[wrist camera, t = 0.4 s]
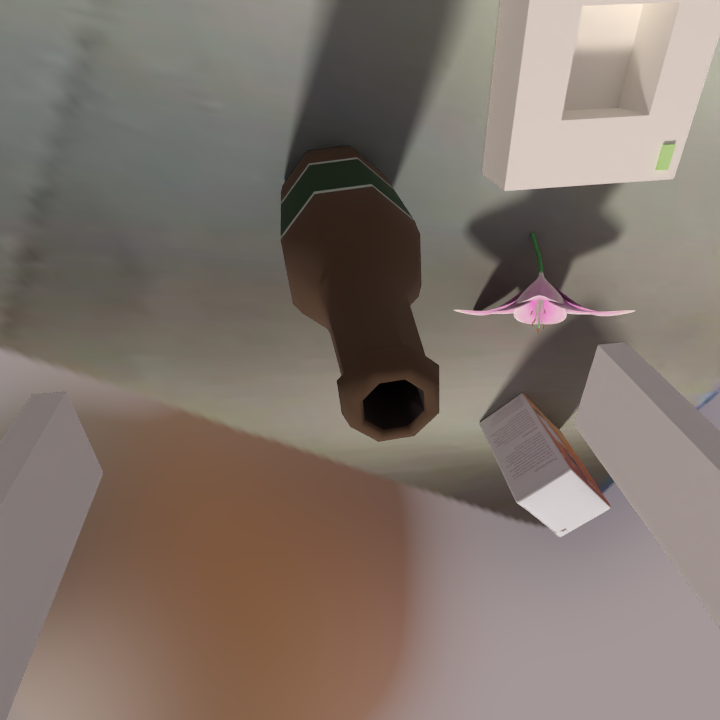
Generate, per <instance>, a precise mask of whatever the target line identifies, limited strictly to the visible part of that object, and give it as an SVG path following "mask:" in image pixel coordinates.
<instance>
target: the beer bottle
mask: <svg viewBox="0 0 720 720" xmlns="http://www.w3.org/2000/svg"><path fill="white" fill-rule="evenodd" d="M281 244H282V249H283V254H284V260H285V265H286V270H287V275H288V280H289V285H290V291H291V296H292V301H293V304H294V305H295V306H296V307H297V308H298V309H299V310H300V311H301V312H302V313H303V314H305V315H306V316H308V317H309V318H311V319H313V320H314V321H316V322H317V323H319V324H321V325H322V326H324V327H325V328H327V329H328V330H329V332H330V335H331V338H332V342H333V346H334V349H335V353H336V357H337V361H338V364H339V368H340V372H341V375H342V376H341V377H340V378H339V379H338V380H337V385H338V392H339V398H340V405H341V411H342V414H343V416H344V417H345V419H346V421H347V422H348V424H349V425H350V427H352V428H354V429H356V430H358V431H360V432H361V433H363V434H365V435H367V436H369V437H371V438H373V439H375V440H376V441H378V442H379V441H385V440H392V439H398V438H404V437H410V436H415V435H416V434H417V433H418V432H419V431H420V430H421V429H422V428H423V427H424V426H425V425H426V424H428V423H429V422H430V421H431V420H432V419H433V418H434V417H435V416H436V415H437V414H438V413H439V365H438V364H436V363H435V362H434V361H432V360H431V359H429V358H428V357H426V356H425V353H424V350H423V346H422V343H421V340H420V337H419V334H418V330H417V327H416V324H415V321H414V317H413V314H412V311H411V308H410V305H411V304H412V303H413V302H414V301H415V300H416V299H417V298H418V296H419V292H420V289H421V253H420V233H419V231H418V228H417V226H416V223H415V221H414V219H413V218H412V216H411V215H410V213H409V212H408V210H407V209H406V207H405V206H404V204H403V203H402V201H401V200H400V198H399V197H398V195H397V193H396V192H395V190H394V189H393V187H392V186H391V184H390V183H389V181H388V180H387V178H386V177H385V176H384V175H383V174H382V173H381V172H380V171H379V170H377V169H376V168H375V167H374V166H373V165H372V164H370V163H369V162H368V161H367V160H366V159H365V158H363V157H362V156H361V155H360V154H359V153H358V152H356V151H355V150H354V149H353V148H352V147H351V146H341V147H333V148H325V149H318V150H310V151H307V152H306V153H305V155H304V156H303V157H302V159H301V160H300V162H299V163H298V165H297V166H296V167H295V169H294V170H293V172H292V173H291V174H290V176H289V177H288V179H287V180H286V181H285V183H284V184H283V186H282V191H281Z"/></svg>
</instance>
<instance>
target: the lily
mask: <svg viewBox="0 0 720 720" xmlns="http://www.w3.org/2000/svg"><path fill="white" fill-rule="evenodd" d="M530 235H531V238H532V241H533V244H534V247H535V251H536V255H537V259H538V265H539V277H538V278H537V279H536V280H535V281H534V282H533V283H532V284H530V285H529V286H528V287H527V288H525V289H524V290H523V291H522V292H520V293H519V294H518V295H516V296H515V297H514V298H512V299H511V300H509V301H508V302H506V303H505V304H503V305H501V306H500V307H498V308H495V309H492V310H487V311H472V310H454V311H457V312H461V313H465V314H471V315H488V314H511V313H514V317H515V318H516V319H517V320H518V321H520V322H522V323H527V324H532V326H533V324H538V327H537V331H538V332H539V327H540V324H542V326H543V329H544V324H555V323H560V322H562V321H564V319H565V318H566V316H567V314H592V315H597V316H613V315H621V314H626V313H631V312H634V311H636V310H623V311H594V310H590V309H587V308H584V307H582V306H581V305H579V304H577V303H576V302H574V301H573V300H571V299H570V298H568V297H567V296H566V295H564V294H563V293H562V292H560V291H559V290H558V289H557V288H555V287H554V286H553V285H552V284H550V283H549V282H548V281H547V280H546V279H545V278H544V274H543V265H542V259H541V254H540V251H539V247H538V244H537V241H536V238H535V235H534V233H531V234H530Z"/></svg>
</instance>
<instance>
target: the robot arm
mask: <svg viewBox="0 0 720 720" xmlns="http://www.w3.org/2000/svg"><path fill="white" fill-rule="evenodd" d="M574 426H575V427H576V428H577V430H578V431H579V433H580V434H581V435H582V437H583V438H584V440H585V441H586V442H587V444H588V445H589V447H590V448H591V449H592V451H593V452H594V454H595V455H596V456H597V458H598V459H599V461H600V462H601V463H602V465H603V466H604V468H605V469H606V470H607V472H608V473H609V475H610V476H611V477H612V479H613V480H614V482H615V483H616V484H617V486H618V487H619V489H620V490H621V491H622V493H623V494H624V495H625V497H626V498H627V500H628V501H629V503H630V504H631V505H632V507H633V508H634V509H635V511H636V512H637V514H638V515H639V516H640V518H641V519H642V521H643V522H644V523H645V525H646V526H647V528H648V529H649V530H650V532H651V533H652V535H653V536H654V537H655V539H656V540H657V542H658V543H659V544H660V546H661V547H662V549H663V550H664V551H665V553H666V554H667V556H668V557H669V558H670V560H671V561H672V562H673V564H674V565H675V567H676V568H677V570H678V571H679V572H680V574H681V575H682V577H683V578H684V579H685V581H686V582H687V584H688V585H689V586H690V588H691V589H692V590H693V592H694V593H695V595H696V596H697V598H698V599H699V600H700V602H701V603H702V604H703V606H704V607H705V609H706V610H707V612H708V613H709V614H710V615H711V617H712V618H713V620H714V621H715V623H716V624H717V625H718V627H719V628H720V431H719V430H718V429H717V428H716V427H715V426H714V425H713V424H712V423H711V422H710V421H709V420H708V419H707V418H705V417H704V416H703V415H702V414H701V413H700V412H699V411H698V410H697V409H696V408H695V407H694V406H693V405H692V404H691V403H690V402H689V401H687V400H686V399H685V398H684V397H683V396H682V395H681V394H680V393H679V392H678V391H677V390H676V389H675V388H674V387H673V386H672V385H671V384H669V383H668V382H667V381H666V380H665V379H664V378H663V377H662V376H661V375H660V374H659V373H658V372H657V371H656V370H655V369H654V368H653V367H651V366H650V365H649V364H648V363H647V362H646V361H645V360H644V359H643V358H642V357H641V356H640V355H639V354H638V353H637V352H636V351H635V350H634V349H632V348H631V347H630V346H629V345H628V344H627V343H626V342H623V343H612V344H600V345H598V346H597V350H596V353H595V356H594V359H593V363H592V366H591V369H590V372H589V376H588V379H587V382H586V385H585V388H584V392H583V395H582V398H581V401H580V405H579V408H578V411H577V414H576V418H575V421H574ZM102 475H103V471H102V469H101V467H100V465H99V463H98V461H97V458H96V456H95V454H94V452H93V449H92V447H91V445H90V443H89V441H88V438H87V436H86V434H85V432H84V430H83V427H82V425H81V423H80V421H79V419H78V416H77V414H76V412H75V410H74V408H73V405H72V403H71V401H70V399H69V397H68V394H67V392H54V393H43V394H32V395H31V396H30V398H29V399H28V401H27V402H26V404H25V405H24V407H23V408H22V410H21V411H20V413H19V414H18V416H17V417H16V419H15V420H14V422H13V423H12V425H11V426H10V428H9V429H8V431H7V432H6V434H5V435H4V437H3V438H2V440H1V441H0V720H6V718H7V716H8V713H9V711H10V708H11V706H12V703H13V701H14V698H15V696H16V693H17V690H18V688H19V686H20V683H21V680H22V678H23V675H24V673H25V670H26V668H27V665H28V663H29V660H30V657H31V655H32V652H33V650H34V647H35V645H36V642H37V640H38V637H39V635H40V632H41V630H42V627H43V624H44V622H45V619H46V617H47V614H48V612H49V609H50V607H51V604H52V602H53V599H54V596H55V594H56V591H57V589H58V586H59V584H60V581H61V579H62V576H63V574H64V571H65V569H66V566H67V564H68V561H69V559H70V556H71V553H72V551H73V548H74V546H75V543H76V541H77V538H78V536H79V533H80V531H81V528H82V525H83V523H84V520H85V518H86V515H87V513H88V510H89V507H90V505H91V503H92V500H93V497H94V495H95V492H96V490H97V487H98V485H99V482H100V480H101V477H102Z"/></svg>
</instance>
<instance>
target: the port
mask: <svg viewBox="0 0 720 720" xmlns="http://www.w3.org/2000/svg"><path fill="white" fill-rule="evenodd" d="M719 36H720V0H500V7H499V16H498V26H497V35H496V45H495V54H494V64H493V73H492V83H491V92H490V102H489V111H488V121H487V130H486V140H485V149H484V159H483V168H482V174H483V175H484V176H485V177H487V178H488V179H489V180H491V181H492V182H493V183H495V184H496V185H497V186H498V187H500V188H501V189H502V190H504V191H511V190H525V189H539V188H553V187H568V186H582V185H596V184H610V183H624V182H638V181H652V180H667V179H674V177H675V174H676V171H677V167H678V164H679V161H680V158H681V155H682V152H683V149H684V146H685V142H686V139H687V136H688V133H689V130H690V127H691V124H692V121H693V117H694V114H695V111H696V108H697V105H698V102H699V99H700V96H701V92H702V89H703V86H704V83H705V80H706V77H707V74H708V71H709V67H710V64H711V61H712V58H713V55H714V52H715V49H716V46H717V42H718V39H719Z"/></svg>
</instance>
